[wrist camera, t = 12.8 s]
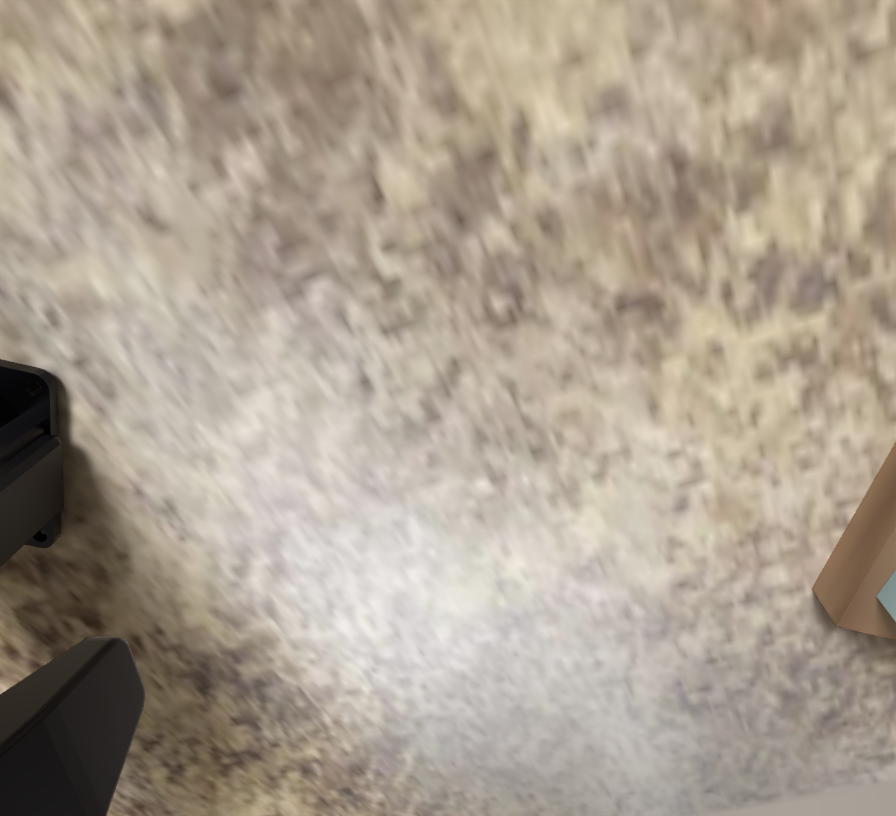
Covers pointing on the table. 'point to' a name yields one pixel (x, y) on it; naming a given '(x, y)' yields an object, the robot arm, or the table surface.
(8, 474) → the robot arm
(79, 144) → the table surface
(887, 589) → the tower top block
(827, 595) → the tower base slab
